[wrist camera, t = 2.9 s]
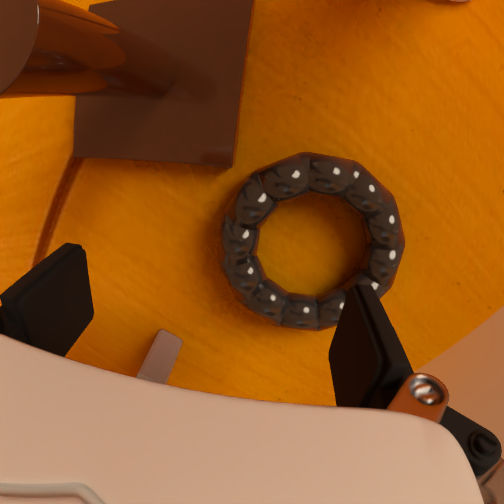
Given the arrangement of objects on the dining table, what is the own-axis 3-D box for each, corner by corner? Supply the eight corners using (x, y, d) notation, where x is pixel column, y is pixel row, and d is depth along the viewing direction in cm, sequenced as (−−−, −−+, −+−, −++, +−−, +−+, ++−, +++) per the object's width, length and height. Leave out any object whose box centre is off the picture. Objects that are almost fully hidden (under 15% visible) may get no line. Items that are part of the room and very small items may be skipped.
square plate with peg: (255, -1, 12) (218, -144, 2) (234, 165, 16) (156, 254, 6) (97, 8, 12) (-47, -40, 2) (82, 155, 16) (-75, 215, 6)
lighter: (160, 328, 20) (115, 420, 13) (183, 340, 21) (146, 436, 13) (133, 383, 23) (96, 461, 16) (152, 393, 23) (120, 473, 16)
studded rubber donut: (413, 172, 15) (429, 179, 13) (369, 324, 19) (376, 343, 17) (231, 139, 15) (225, 142, 13) (216, 304, 19) (210, 324, 17)
